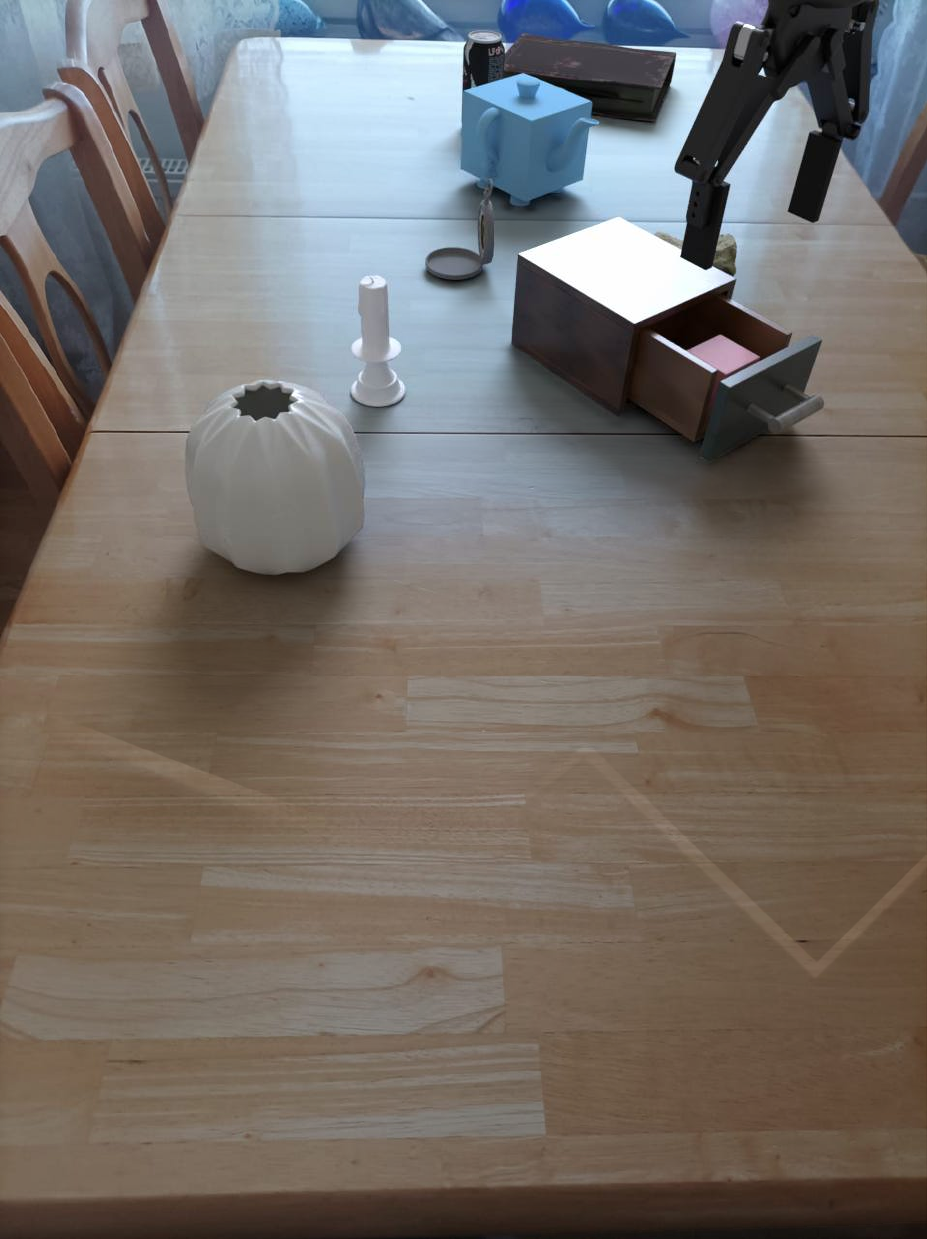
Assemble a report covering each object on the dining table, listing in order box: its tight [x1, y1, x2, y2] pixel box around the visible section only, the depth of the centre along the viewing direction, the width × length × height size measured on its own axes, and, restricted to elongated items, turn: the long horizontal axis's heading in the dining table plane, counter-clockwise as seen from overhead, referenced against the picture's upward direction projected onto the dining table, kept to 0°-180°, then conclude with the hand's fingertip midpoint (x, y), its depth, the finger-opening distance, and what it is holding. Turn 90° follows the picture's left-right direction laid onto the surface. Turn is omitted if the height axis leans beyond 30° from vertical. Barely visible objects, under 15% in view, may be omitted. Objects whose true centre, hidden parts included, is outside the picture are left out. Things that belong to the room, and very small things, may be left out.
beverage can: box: [461, 29, 506, 123], centre depth 131 cm, size 6×6×12 cm
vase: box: [184, 378, 367, 576], centre depth 72 cm, size 14×14×13 cm
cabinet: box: [510, 216, 737, 417], centre depth 93 cm, size 16×14×10 cm
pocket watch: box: [424, 179, 496, 281], centre depth 104 cm, size 8×8×10 cm
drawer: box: [627, 294, 825, 463], centre depth 86 cm, size 18×13×8 cm
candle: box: [350, 274, 407, 408], centre depth 87 cm, size 5×5×12 cm
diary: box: [504, 32, 677, 122], centre depth 145 cm, size 19×25×5 cm
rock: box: [653, 231, 738, 278], centre depth 106 cm, size 11×6×10 cm
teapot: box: [460, 73, 600, 207], centre depth 117 cm, size 18×16×13 cm
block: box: [687, 335, 760, 416], centre depth 87 cm, size 5×5×5 cm
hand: (751, 238), depth 77 cm, fingers open, 13 cm apart
